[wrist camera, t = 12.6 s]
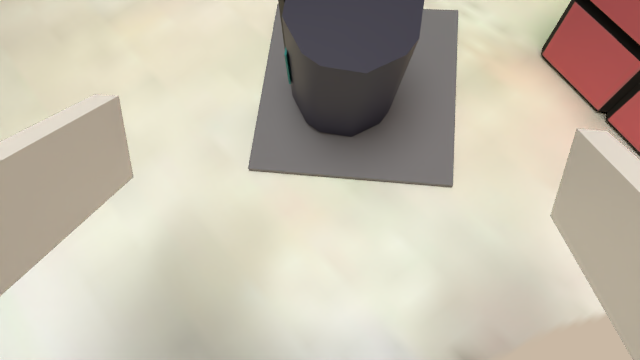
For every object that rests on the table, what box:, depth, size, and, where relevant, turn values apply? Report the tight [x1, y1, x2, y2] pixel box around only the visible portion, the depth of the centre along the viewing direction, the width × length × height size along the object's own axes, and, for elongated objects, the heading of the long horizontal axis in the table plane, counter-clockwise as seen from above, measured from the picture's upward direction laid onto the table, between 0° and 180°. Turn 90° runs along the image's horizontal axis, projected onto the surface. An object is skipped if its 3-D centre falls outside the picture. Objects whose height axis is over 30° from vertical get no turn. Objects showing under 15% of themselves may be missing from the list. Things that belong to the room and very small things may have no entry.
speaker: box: [278, 0, 424, 137], centre depth 22 cm, size 8×6×10 cm
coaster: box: [248, 4, 458, 187], centre depth 26 cm, size 11×11×1 cm
